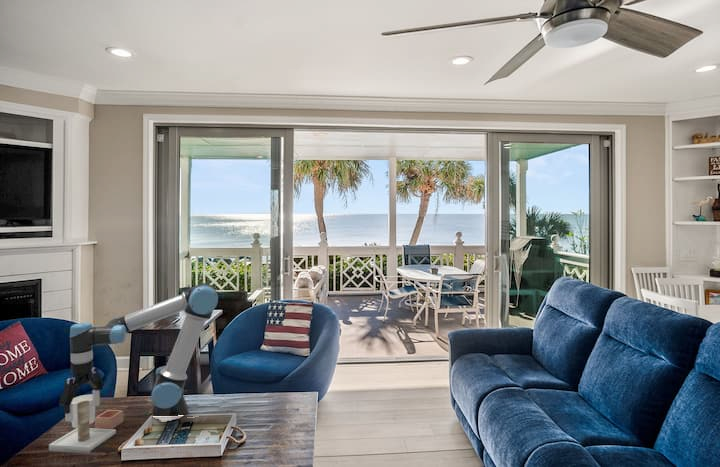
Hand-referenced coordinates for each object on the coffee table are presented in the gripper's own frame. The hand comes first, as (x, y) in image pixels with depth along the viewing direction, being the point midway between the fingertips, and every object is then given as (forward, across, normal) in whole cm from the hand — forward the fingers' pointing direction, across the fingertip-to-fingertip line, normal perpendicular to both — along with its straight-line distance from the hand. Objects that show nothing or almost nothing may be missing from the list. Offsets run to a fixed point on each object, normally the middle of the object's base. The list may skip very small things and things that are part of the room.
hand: (83, 412), depth 165 cm
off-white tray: (+12, 0, 0) cm, 12 cm away
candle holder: (+13, -13, -12) cm, 22 cm away
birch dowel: (+11, 0, 0) cm, 11 cm away
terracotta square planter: (+12, -13, +1) cm, 18 cm away
